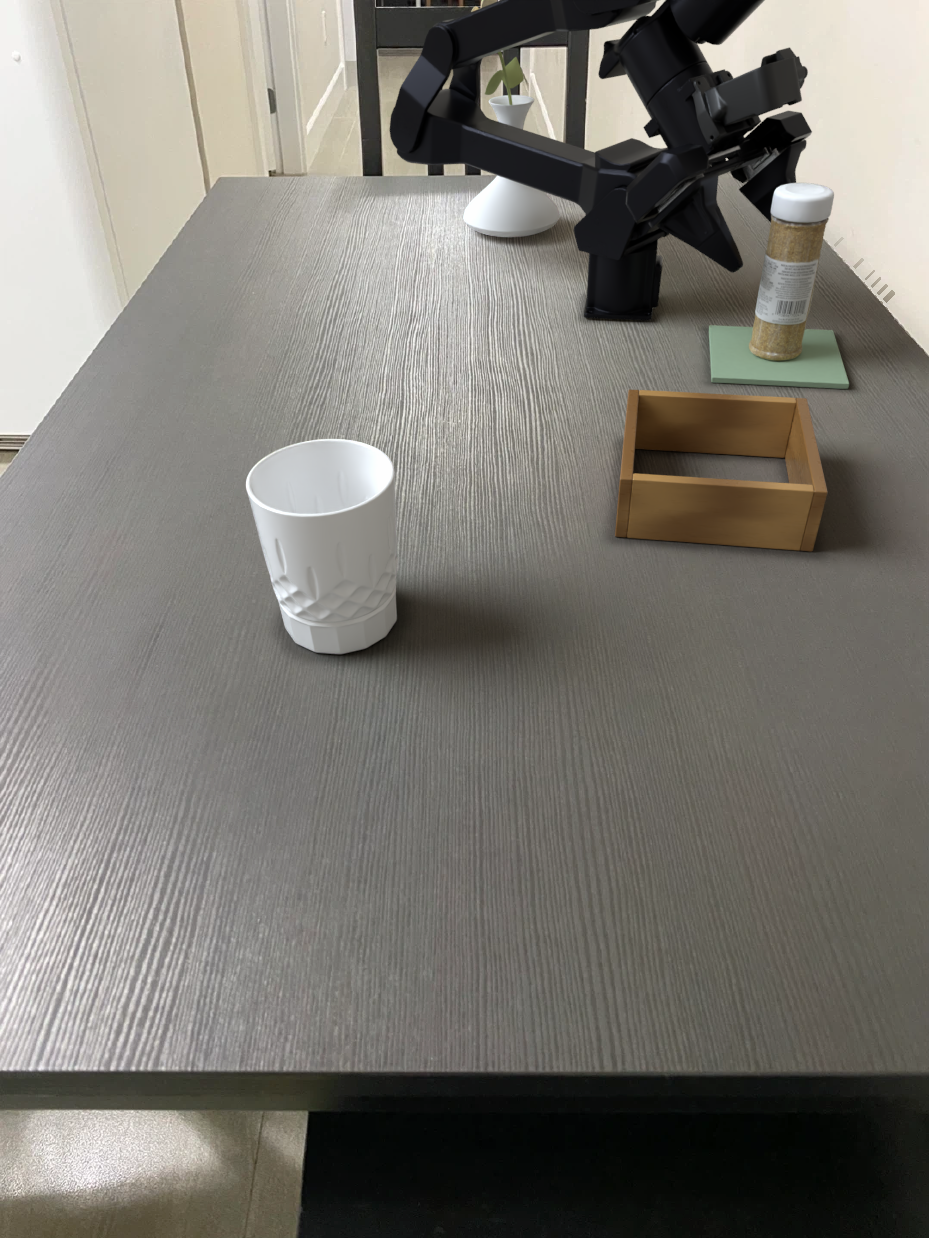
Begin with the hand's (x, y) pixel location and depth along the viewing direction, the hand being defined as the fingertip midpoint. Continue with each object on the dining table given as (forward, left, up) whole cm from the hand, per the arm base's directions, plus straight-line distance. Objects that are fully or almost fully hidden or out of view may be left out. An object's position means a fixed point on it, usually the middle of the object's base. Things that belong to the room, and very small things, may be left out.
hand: (769, 255), depth 78 cm
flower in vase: (-26, +31, -9) cm, 41 cm away
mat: (+2, -1, -8) cm, 9 cm away
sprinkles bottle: (+2, -1, -8) cm, 8 cm away
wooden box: (-4, -24, -8) cm, 26 cm away
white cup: (-26, -41, -9) cm, 50 cm away
